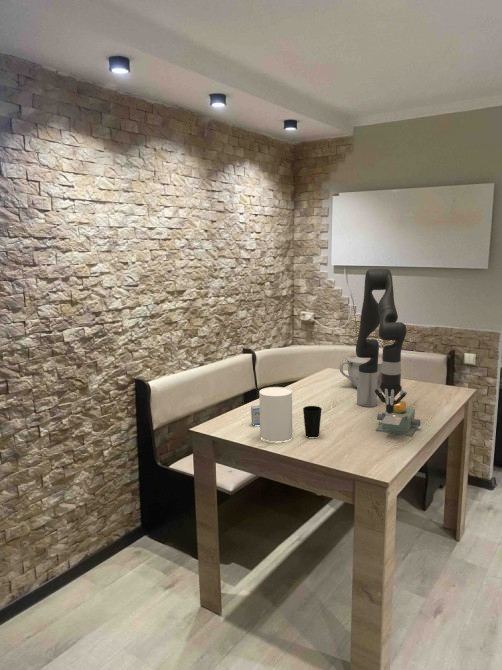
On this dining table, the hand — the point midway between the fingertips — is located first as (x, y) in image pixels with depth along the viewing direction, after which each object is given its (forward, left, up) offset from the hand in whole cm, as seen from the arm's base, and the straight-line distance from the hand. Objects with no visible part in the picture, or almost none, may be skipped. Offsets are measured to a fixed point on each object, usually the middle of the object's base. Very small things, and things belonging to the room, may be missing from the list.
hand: (389, 413), depth 202 cm
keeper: (0, +8, -4) cm, 9 cm away
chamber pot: (-29, +75, -12) cm, 81 cm away
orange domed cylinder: (0, +17, -10) cm, 20 cm away
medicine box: (-56, -6, -12) cm, 58 cm away
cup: (-30, -9, -12) cm, 34 cm away
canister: (-43, -17, -12) cm, 48 cm away
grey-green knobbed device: (0, +17, -11) cm, 20 cm away
